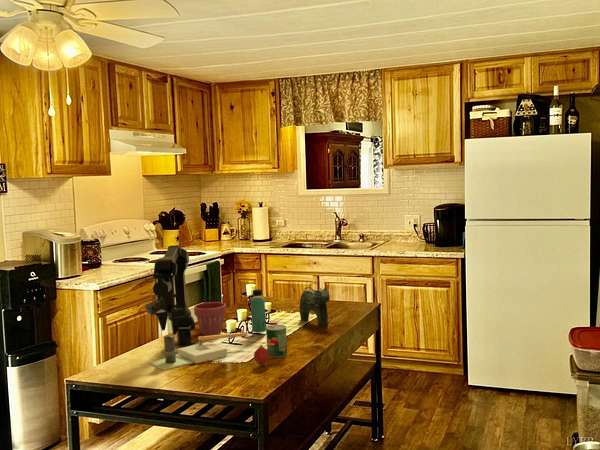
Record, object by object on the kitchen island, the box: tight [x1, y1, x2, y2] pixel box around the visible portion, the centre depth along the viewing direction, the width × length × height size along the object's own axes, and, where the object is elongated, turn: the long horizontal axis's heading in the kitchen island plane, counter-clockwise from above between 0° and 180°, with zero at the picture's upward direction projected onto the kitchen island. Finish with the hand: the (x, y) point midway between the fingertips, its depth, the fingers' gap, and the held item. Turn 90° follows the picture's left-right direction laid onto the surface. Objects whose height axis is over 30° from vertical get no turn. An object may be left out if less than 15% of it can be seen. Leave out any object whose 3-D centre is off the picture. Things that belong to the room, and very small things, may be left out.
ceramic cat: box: [299, 281, 331, 327], centre depth 308 cm, size 20×6×20 cm, turn 34°
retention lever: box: [197, 331, 248, 341], centre depth 268 cm, size 20×2×1 cm, turn 103°
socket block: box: [177, 340, 228, 364], centre depth 259 cm, size 14×14×5 cm
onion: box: [253, 344, 271, 367], centre depth 243 cm, size 6×6×8 cm
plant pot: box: [193, 301, 227, 336], centre depth 296 cm, size 14×14×13 cm
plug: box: [161, 334, 179, 363], centre depth 250 cm, size 6×6×10 cm
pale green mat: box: [148, 355, 193, 371], centre depth 251 cm, size 12×12×1 cm
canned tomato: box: [265, 324, 288, 358], centre depth 257 cm, size 8×8×11 cm
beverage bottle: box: [250, 288, 267, 334], centre depth 290 cm, size 6×7×20 cm
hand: (169, 332), depth 250 cm, fingers open, 9 cm apart
